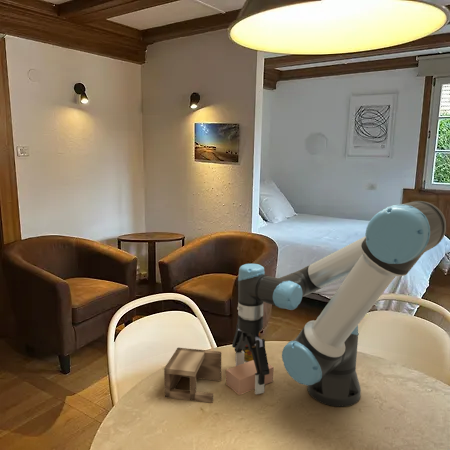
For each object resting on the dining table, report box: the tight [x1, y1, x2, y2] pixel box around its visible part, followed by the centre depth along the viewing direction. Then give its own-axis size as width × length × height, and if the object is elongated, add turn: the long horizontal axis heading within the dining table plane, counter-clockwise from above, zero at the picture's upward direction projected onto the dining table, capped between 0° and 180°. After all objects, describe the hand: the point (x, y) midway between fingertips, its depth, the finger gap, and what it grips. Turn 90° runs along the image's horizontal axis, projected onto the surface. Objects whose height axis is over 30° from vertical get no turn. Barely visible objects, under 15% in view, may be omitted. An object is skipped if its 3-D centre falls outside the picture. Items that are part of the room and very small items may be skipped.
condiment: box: [243, 331, 268, 363], centre depth 143 cm, size 7×8×12 cm
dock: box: [163, 347, 222, 404], centre depth 125 cm, size 14×13×9 cm
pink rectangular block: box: [225, 360, 275, 396], centre depth 128 cm, size 13×7×5 cm, turn 124°
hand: (249, 381), depth 128 cm, fingers open, 12 cm apart
